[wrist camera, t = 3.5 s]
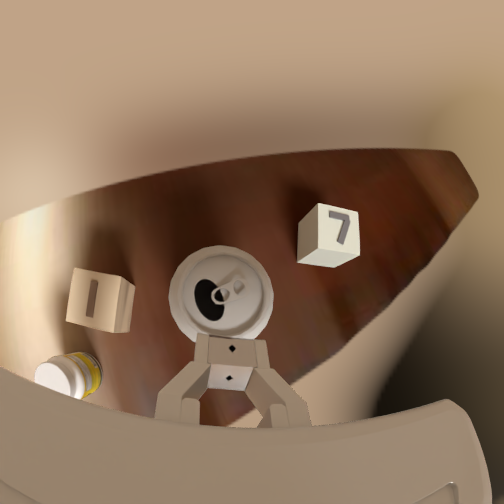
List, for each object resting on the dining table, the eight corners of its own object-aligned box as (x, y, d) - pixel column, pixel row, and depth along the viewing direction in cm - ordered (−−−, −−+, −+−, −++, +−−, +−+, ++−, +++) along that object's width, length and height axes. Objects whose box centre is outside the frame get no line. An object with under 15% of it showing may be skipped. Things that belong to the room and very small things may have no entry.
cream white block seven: (296, 262, 32) (318, 247, 26) (298, 223, 33) (318, 202, 28) (333, 267, 33) (360, 254, 27) (333, 230, 34) (358, 211, 28)
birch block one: (88, 323, 25) (64, 320, 19) (95, 279, 27) (73, 266, 21) (129, 331, 26) (112, 332, 20) (135, 286, 27) (120, 276, 22)
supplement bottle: (71, 390, 22) (35, 406, 14) (65, 350, 23) (26, 355, 16) (107, 393, 23) (78, 413, 15) (101, 351, 25) (68, 359, 17)
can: (168, 285, 28) (151, 258, 17) (232, 263, 30) (255, 224, 19) (192, 351, 27) (191, 368, 16) (257, 326, 29) (297, 325, 18)
